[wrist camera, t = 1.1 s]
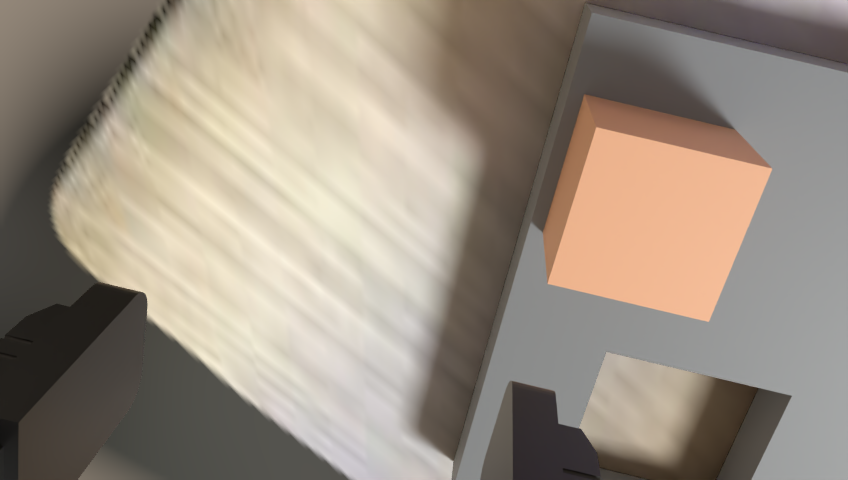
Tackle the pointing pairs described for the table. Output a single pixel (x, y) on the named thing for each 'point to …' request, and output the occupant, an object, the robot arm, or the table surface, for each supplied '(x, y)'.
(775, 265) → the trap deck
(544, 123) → the table surface
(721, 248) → the block
